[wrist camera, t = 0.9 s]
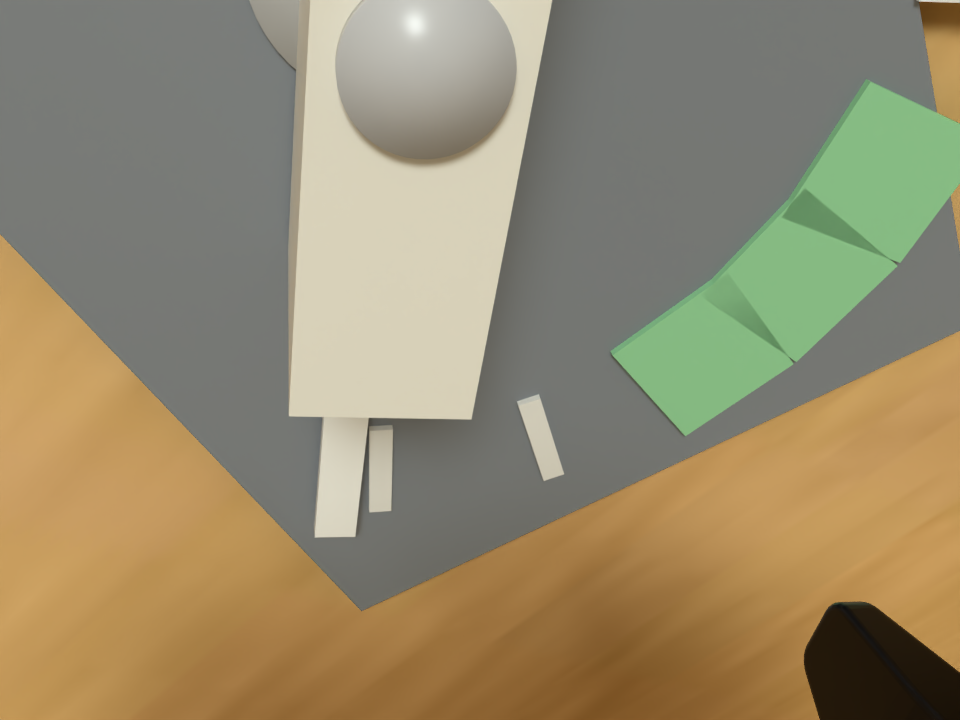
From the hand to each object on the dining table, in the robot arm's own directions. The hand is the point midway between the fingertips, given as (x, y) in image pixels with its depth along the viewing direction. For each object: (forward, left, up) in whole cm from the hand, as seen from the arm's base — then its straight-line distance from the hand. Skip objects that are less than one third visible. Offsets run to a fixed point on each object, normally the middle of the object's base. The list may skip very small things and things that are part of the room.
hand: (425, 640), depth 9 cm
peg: (0, -1, -9) cm, 9 cm away
